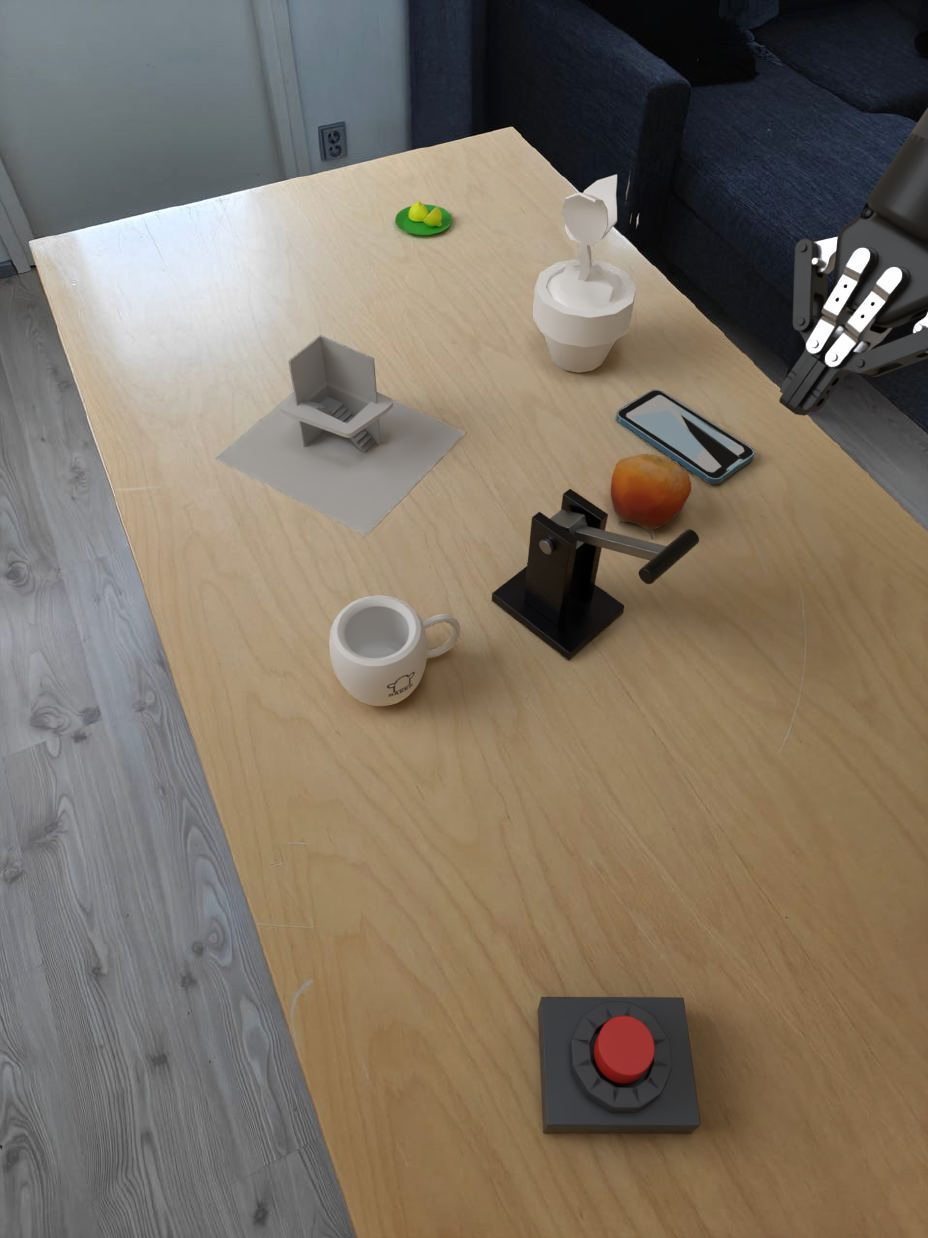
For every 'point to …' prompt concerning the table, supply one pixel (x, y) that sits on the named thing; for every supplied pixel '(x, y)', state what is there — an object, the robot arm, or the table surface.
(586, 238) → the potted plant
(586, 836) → the table surface
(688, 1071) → the button block
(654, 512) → the fruit
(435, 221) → the plate of lemons
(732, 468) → the smartphone
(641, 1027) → the button
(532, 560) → the bracket
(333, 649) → the mug
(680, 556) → the lever
